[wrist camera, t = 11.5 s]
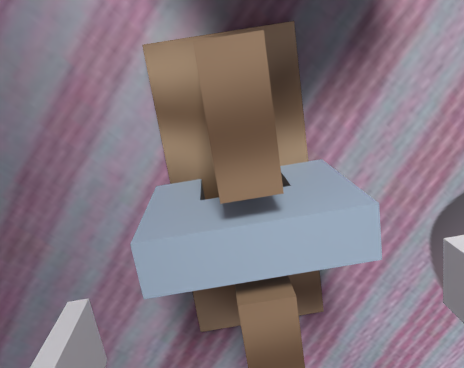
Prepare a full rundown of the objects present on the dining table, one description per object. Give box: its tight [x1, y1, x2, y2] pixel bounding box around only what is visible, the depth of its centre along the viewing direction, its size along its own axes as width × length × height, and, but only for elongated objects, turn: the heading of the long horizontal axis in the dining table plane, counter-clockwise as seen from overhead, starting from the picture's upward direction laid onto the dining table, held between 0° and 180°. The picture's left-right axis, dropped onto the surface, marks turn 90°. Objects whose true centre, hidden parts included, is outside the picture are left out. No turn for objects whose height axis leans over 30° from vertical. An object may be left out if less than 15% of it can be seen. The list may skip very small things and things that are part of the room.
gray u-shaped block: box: [130, 159, 382, 299], centre depth 24 cm, size 12×3×10 cm, turn 99°
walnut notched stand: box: [142, 21, 323, 368], centre depth 25 cm, size 22×10×11 cm, turn 9°
